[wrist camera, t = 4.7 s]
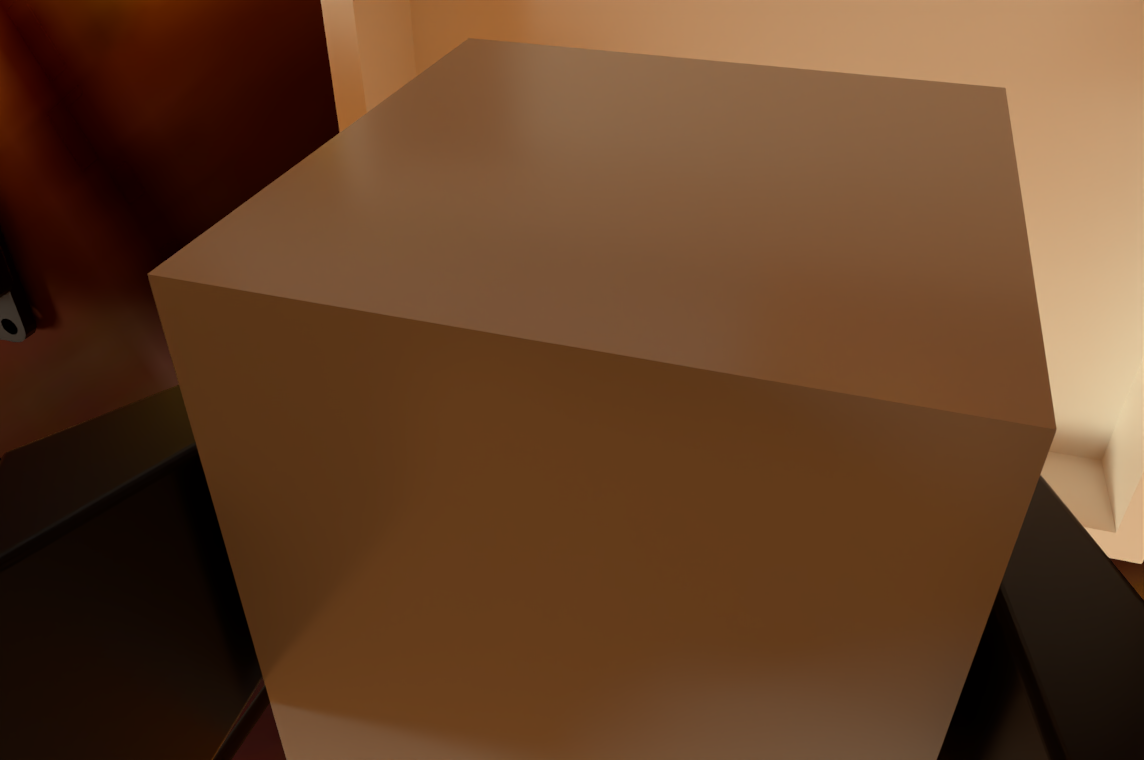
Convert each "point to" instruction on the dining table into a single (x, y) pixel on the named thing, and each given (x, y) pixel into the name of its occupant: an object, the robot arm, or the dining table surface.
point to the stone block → (622, 410)
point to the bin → (923, 52)
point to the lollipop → (243, 726)
